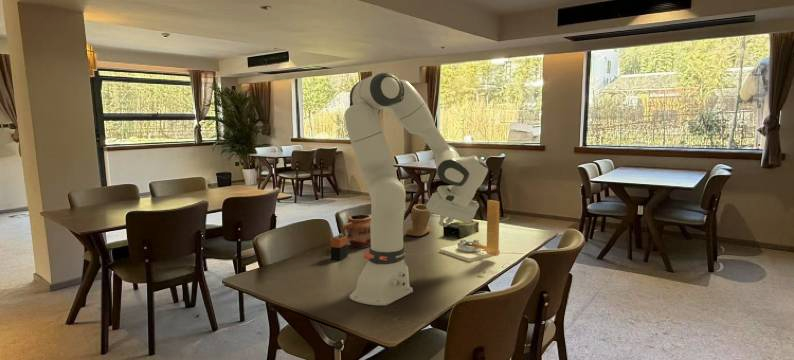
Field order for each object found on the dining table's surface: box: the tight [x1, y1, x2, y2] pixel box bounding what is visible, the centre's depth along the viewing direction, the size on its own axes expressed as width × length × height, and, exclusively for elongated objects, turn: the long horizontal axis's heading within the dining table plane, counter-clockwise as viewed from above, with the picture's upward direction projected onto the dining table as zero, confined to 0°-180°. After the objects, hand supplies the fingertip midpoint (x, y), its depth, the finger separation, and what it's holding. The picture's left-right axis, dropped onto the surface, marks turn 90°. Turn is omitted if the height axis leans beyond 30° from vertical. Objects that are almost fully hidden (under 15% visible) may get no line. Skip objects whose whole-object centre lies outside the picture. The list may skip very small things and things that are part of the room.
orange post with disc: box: [457, 199, 501, 257], centre depth 192 cm, size 20×10×23 cm, turn 36°
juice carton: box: [442, 219, 480, 240], centre depth 230 cm, size 20×10×6 cm, turn 141°
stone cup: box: [405, 203, 432, 237], centre depth 230 cm, size 15×12×15 cm
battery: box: [330, 233, 349, 262], centre depth 191 cm, size 4×7×10 cm, turn 155°
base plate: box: [439, 243, 501, 263], centre depth 198 cm, size 18×18×2 cm
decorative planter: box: [341, 214, 371, 249], centre depth 209 cm, size 20×12×14 cm, turn 141°
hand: (442, 225), depth 177 cm, fingers closed
